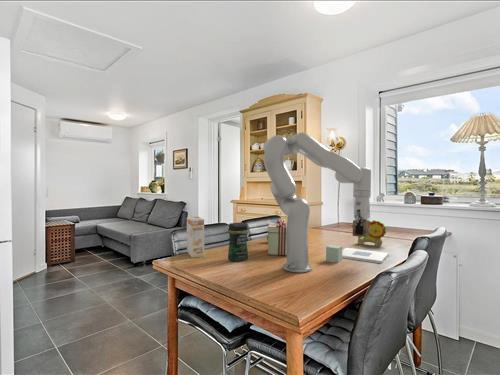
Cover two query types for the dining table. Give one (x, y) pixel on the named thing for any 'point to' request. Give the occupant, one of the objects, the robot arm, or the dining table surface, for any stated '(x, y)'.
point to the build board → (364, 255)
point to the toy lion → (374, 233)
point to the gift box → (277, 238)
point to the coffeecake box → (195, 236)
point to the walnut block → (365, 228)
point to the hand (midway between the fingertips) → (361, 233)
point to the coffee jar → (238, 241)
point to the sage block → (334, 253)
